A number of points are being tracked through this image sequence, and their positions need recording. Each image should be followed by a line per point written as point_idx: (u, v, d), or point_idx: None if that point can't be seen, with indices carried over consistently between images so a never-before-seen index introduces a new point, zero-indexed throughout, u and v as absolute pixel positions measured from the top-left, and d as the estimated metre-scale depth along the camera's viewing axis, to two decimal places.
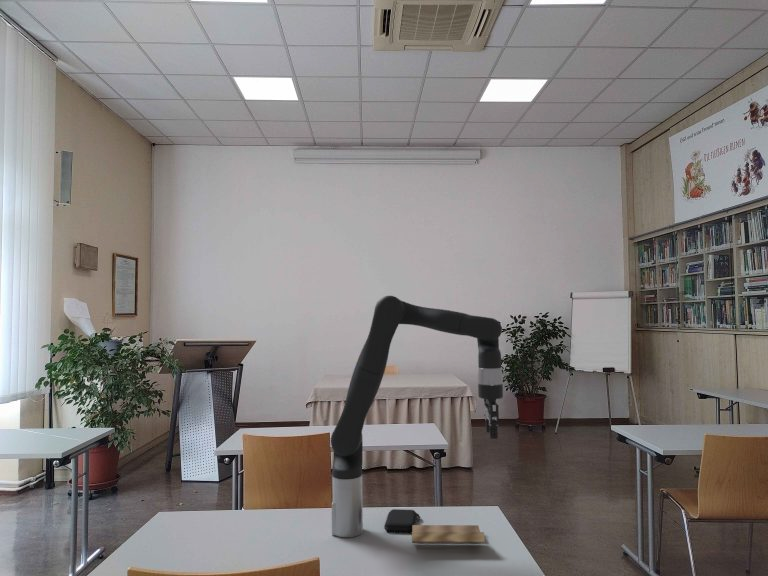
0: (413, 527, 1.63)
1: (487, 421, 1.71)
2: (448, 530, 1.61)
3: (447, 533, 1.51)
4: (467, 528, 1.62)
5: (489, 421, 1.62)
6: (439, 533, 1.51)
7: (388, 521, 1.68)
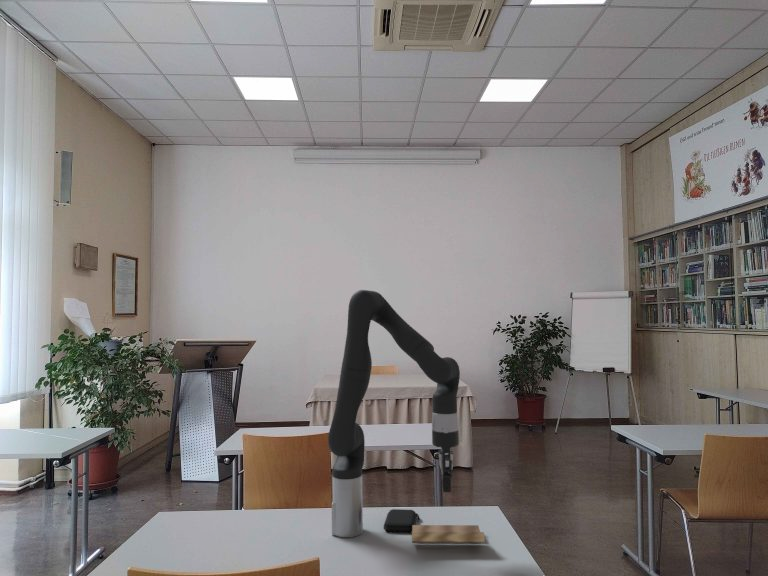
0: (413, 527, 1.63)
1: None
2: (448, 530, 1.61)
3: (447, 533, 1.51)
4: (467, 528, 1.62)
5: (442, 474, 1.51)
6: (439, 533, 1.51)
7: (387, 521, 1.68)
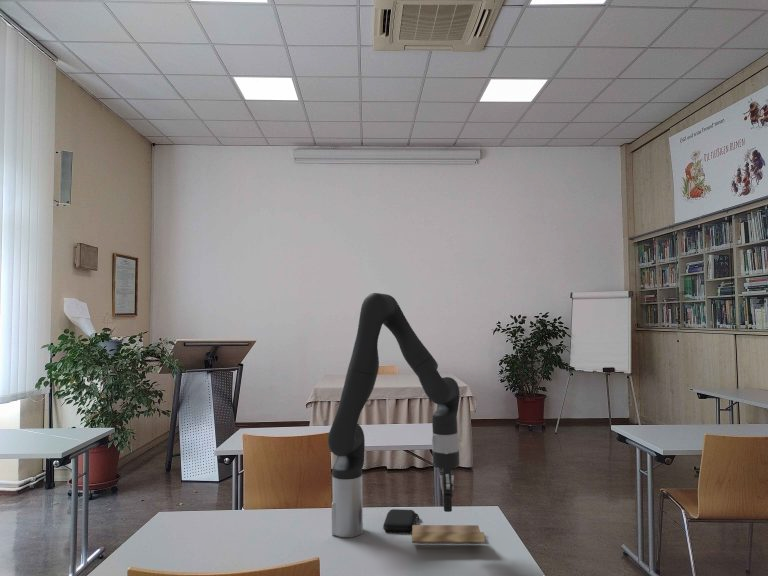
0: (413, 527, 1.63)
1: (444, 498, 1.53)
2: (448, 530, 1.61)
3: (447, 533, 1.51)
4: (467, 528, 1.62)
5: None
6: (439, 533, 1.51)
7: (387, 521, 1.68)
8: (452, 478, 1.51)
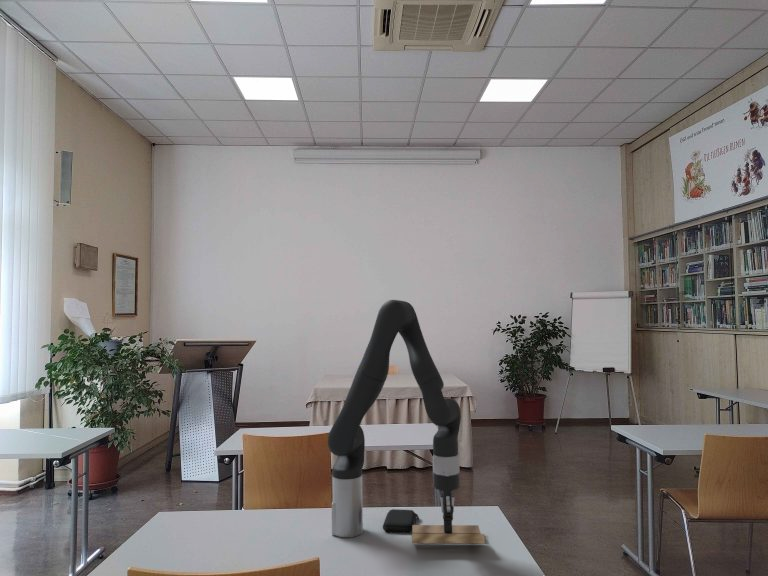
0: (413, 527, 1.63)
1: (445, 520, 1.53)
2: None
3: (447, 535, 1.51)
4: (467, 528, 1.62)
5: (443, 516, 1.51)
6: (439, 535, 1.51)
7: (386, 521, 1.68)
8: (452, 500, 1.51)
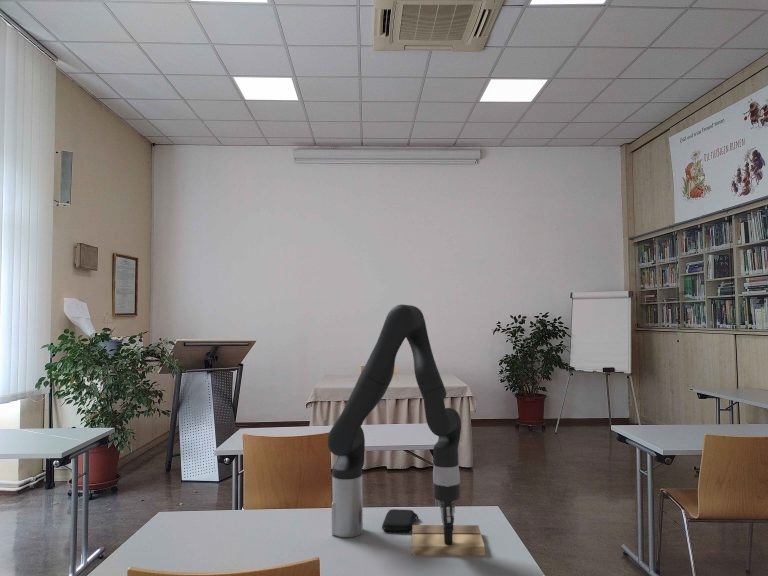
0: (413, 527, 1.63)
1: (445, 530, 1.52)
2: None
3: (447, 547, 1.50)
4: (467, 528, 1.62)
5: None
6: (439, 547, 1.50)
7: (386, 521, 1.68)
8: (453, 511, 1.50)
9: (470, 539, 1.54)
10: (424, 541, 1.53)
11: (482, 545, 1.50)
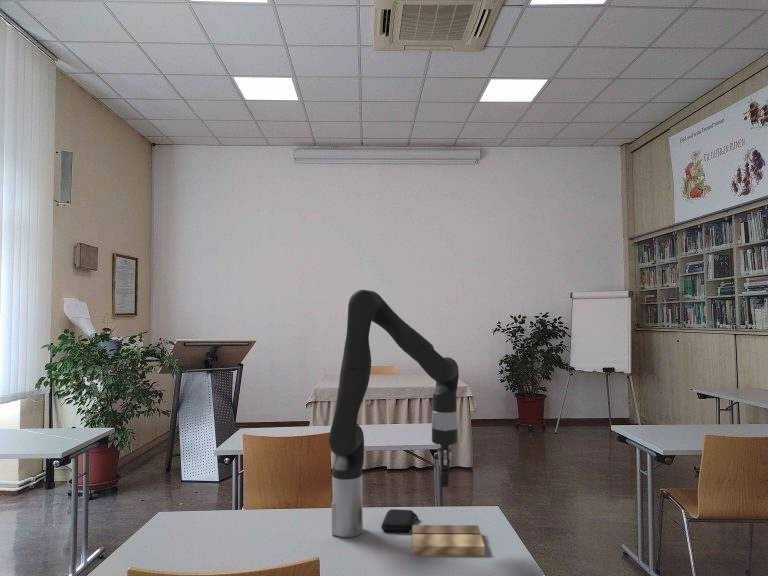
0: (413, 527, 1.63)
1: (442, 474, 1.58)
2: (448, 530, 1.61)
3: (447, 547, 1.50)
4: (467, 528, 1.62)
5: None
6: (439, 547, 1.50)
7: (385, 521, 1.68)
8: (450, 455, 1.56)
9: (470, 539, 1.54)
10: (424, 541, 1.53)
11: (482, 545, 1.50)
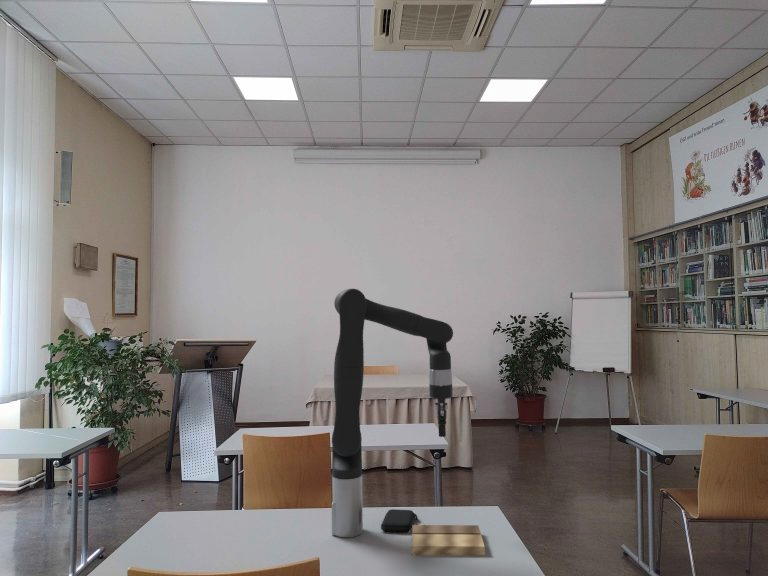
0: (413, 527, 1.63)
1: None
2: (448, 530, 1.61)
3: (447, 547, 1.50)
4: (467, 528, 1.62)
5: None
6: (439, 547, 1.50)
7: (385, 521, 1.69)
8: (446, 407, 1.75)
9: (470, 539, 1.54)
10: (424, 541, 1.53)
11: (482, 545, 1.50)
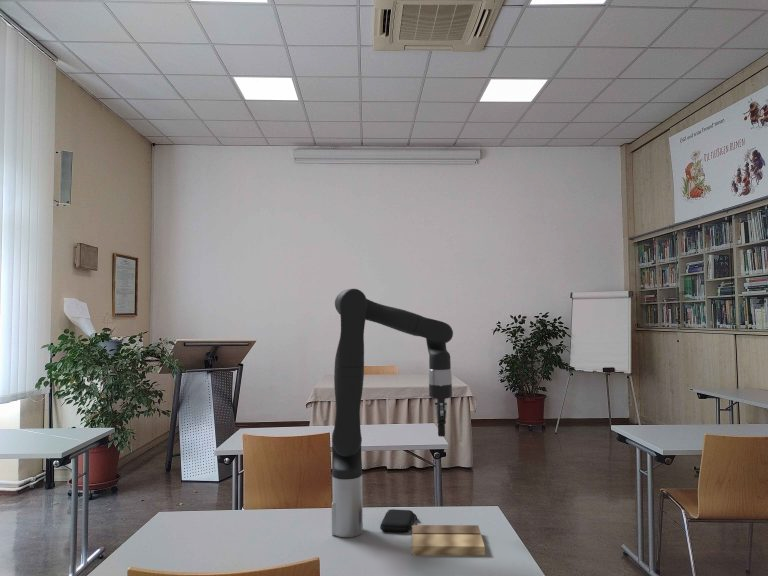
0: (413, 527, 1.63)
1: None
2: (448, 530, 1.61)
3: (447, 547, 1.50)
4: (467, 528, 1.62)
5: None
6: (439, 547, 1.50)
7: (384, 521, 1.69)
8: (445, 407, 1.76)
9: (470, 539, 1.54)
10: (424, 541, 1.53)
11: (482, 545, 1.50)
